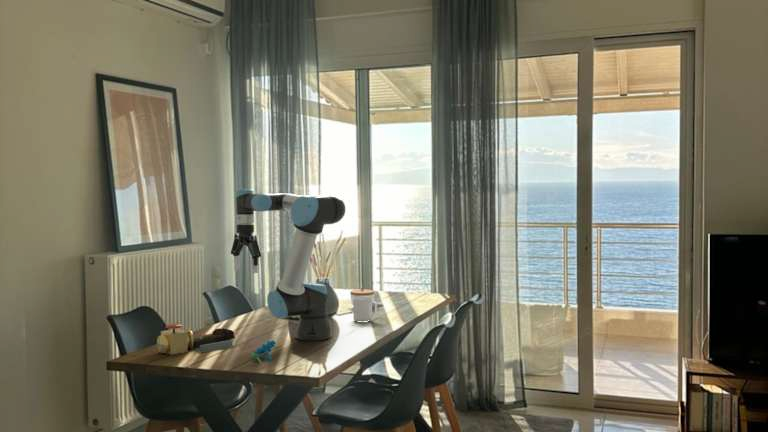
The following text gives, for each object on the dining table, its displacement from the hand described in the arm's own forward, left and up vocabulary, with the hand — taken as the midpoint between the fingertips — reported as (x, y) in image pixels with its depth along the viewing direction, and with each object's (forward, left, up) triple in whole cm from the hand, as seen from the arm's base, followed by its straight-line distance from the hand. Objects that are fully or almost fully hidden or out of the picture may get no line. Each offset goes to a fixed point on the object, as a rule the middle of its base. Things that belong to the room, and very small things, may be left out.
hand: (245, 271), depth 304 cm
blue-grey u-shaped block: (-14, +28, -26) cm, 41 cm away
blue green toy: (-48, +23, -27) cm, 60 cm away
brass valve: (-14, +42, -26) cm, 51 cm away
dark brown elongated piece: (-15, +25, -26) cm, 39 cm away
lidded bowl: (+6, -74, -27) cm, 79 cm away
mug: (-21, -52, -27) cm, 63 cm away
